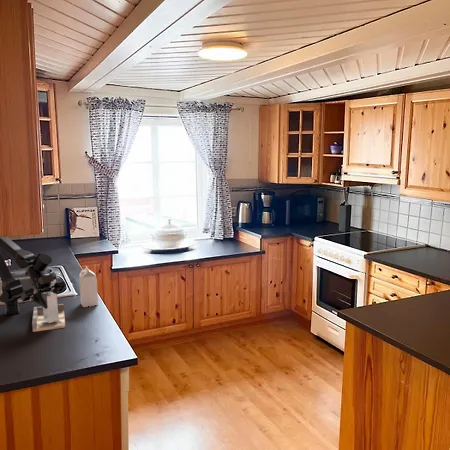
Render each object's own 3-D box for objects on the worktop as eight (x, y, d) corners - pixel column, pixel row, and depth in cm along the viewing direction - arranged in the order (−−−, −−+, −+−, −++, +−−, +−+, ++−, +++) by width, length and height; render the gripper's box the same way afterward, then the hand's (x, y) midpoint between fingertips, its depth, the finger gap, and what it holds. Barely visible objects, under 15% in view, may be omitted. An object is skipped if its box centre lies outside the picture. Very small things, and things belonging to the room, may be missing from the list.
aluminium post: (43, 320, 200) (41, 294, 198) (53, 317, 203) (51, 291, 201) (48, 323, 197) (46, 296, 195) (58, 320, 200) (56, 294, 198)
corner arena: (34, 315, 212) (33, 307, 211) (64, 311, 216) (63, 303, 215) (32, 331, 193) (32, 322, 192) (65, 327, 198) (64, 318, 197)
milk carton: (95, 301, 230) (93, 264, 227) (98, 305, 224) (96, 268, 221) (80, 303, 227) (78, 266, 224) (83, 307, 221) (80, 270, 218)
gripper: (21, 272, 192) (36, 303, 186) (62, 263, 205) (77, 291, 200) (14, 286, 198) (28, 316, 193) (55, 276, 212) (69, 304, 207)
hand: (51, 306), depth 198 cm, fingers closed on aluminium post, 4 cm apart
